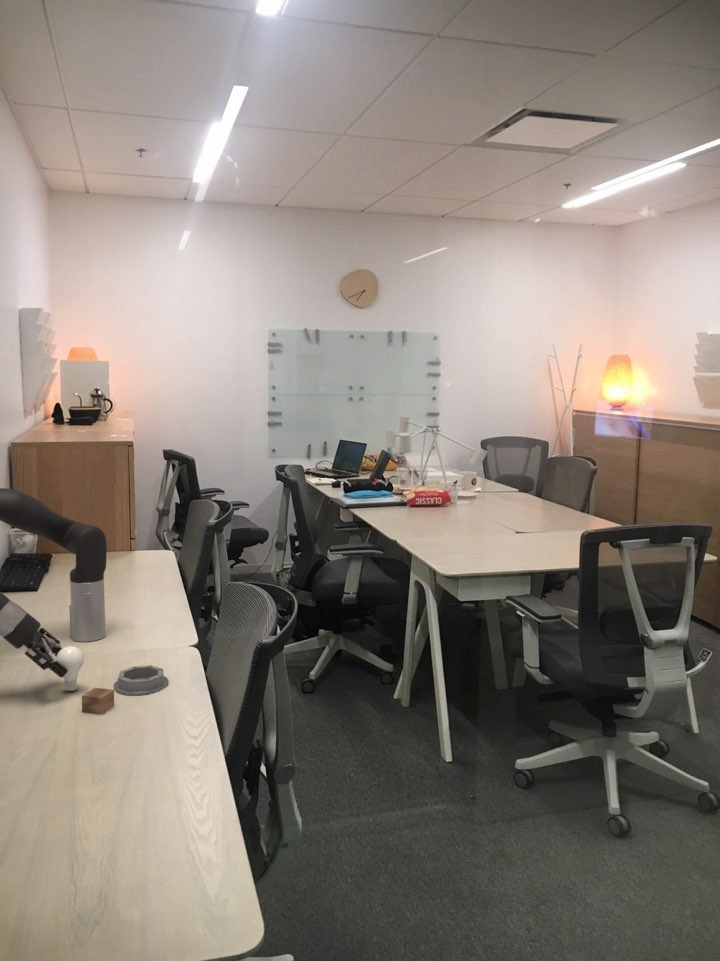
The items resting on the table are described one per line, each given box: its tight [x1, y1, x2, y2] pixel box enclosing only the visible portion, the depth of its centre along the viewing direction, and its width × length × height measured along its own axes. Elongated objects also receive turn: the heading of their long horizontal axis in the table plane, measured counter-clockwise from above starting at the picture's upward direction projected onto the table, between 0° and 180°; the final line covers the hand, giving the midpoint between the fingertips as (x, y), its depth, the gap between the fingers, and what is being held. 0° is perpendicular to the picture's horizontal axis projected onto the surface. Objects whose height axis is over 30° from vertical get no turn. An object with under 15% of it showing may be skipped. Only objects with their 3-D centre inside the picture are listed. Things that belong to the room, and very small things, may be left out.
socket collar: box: [113, 664, 170, 697], centre depth 189 cm, size 13×13×3 cm
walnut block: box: [81, 687, 115, 716], centre depth 175 cm, size 5×5×4 cm
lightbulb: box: [55, 645, 85, 692], centre depth 184 cm, size 6×6×11 cm
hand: (67, 667), depth 184 cm, fingers open, 8 cm apart
